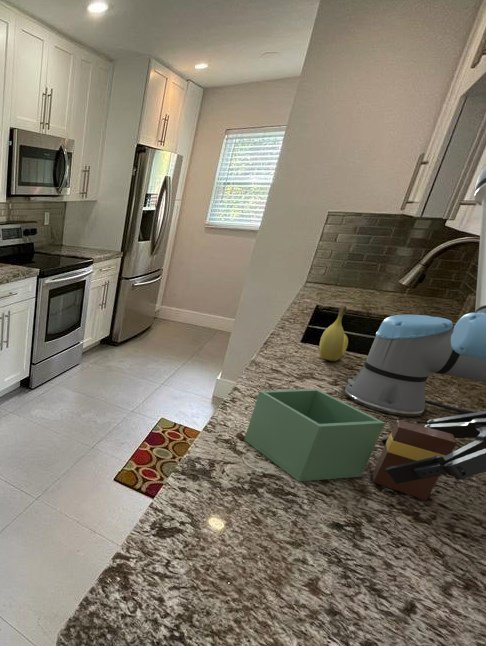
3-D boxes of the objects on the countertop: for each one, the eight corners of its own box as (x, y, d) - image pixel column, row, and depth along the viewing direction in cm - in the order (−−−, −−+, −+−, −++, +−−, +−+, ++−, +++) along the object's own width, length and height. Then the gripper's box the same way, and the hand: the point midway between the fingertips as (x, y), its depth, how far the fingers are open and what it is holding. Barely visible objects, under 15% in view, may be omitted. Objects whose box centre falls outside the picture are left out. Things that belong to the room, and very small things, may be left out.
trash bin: (299, 436, 90) (316, 388, 86) (361, 476, 78) (385, 422, 73) (244, 439, 88) (259, 390, 84) (298, 481, 76) (319, 426, 71)
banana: (326, 350, 144) (346, 294, 137) (347, 355, 140) (369, 298, 133) (309, 364, 131) (330, 304, 123) (331, 370, 127) (355, 308, 119)
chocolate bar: (371, 473, 79) (396, 419, 74) (423, 490, 74) (453, 434, 70) (372, 482, 76) (398, 427, 72) (426, 500, 72) (457, 442, 68)
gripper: (524, 371, 70) (370, 418, 84) (585, 425, 53) (378, 472, 67) (557, 409, 69) (395, 450, 83) (630, 477, 51) (410, 513, 66)
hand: (387, 460), depth 75 cm, fingers open, 11 cm apart
